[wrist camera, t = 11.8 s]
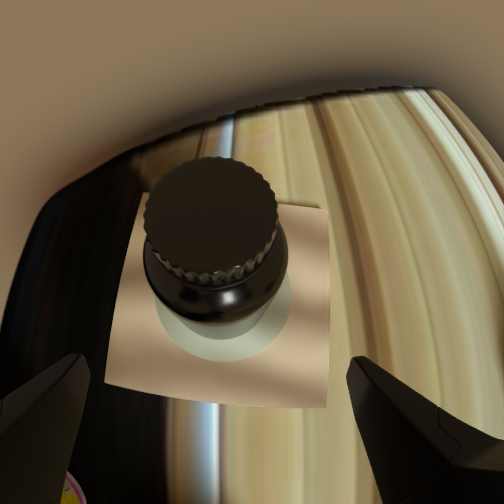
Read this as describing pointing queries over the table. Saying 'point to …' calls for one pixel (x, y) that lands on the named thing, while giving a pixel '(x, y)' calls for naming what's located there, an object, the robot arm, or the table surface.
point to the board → (236, 349)
